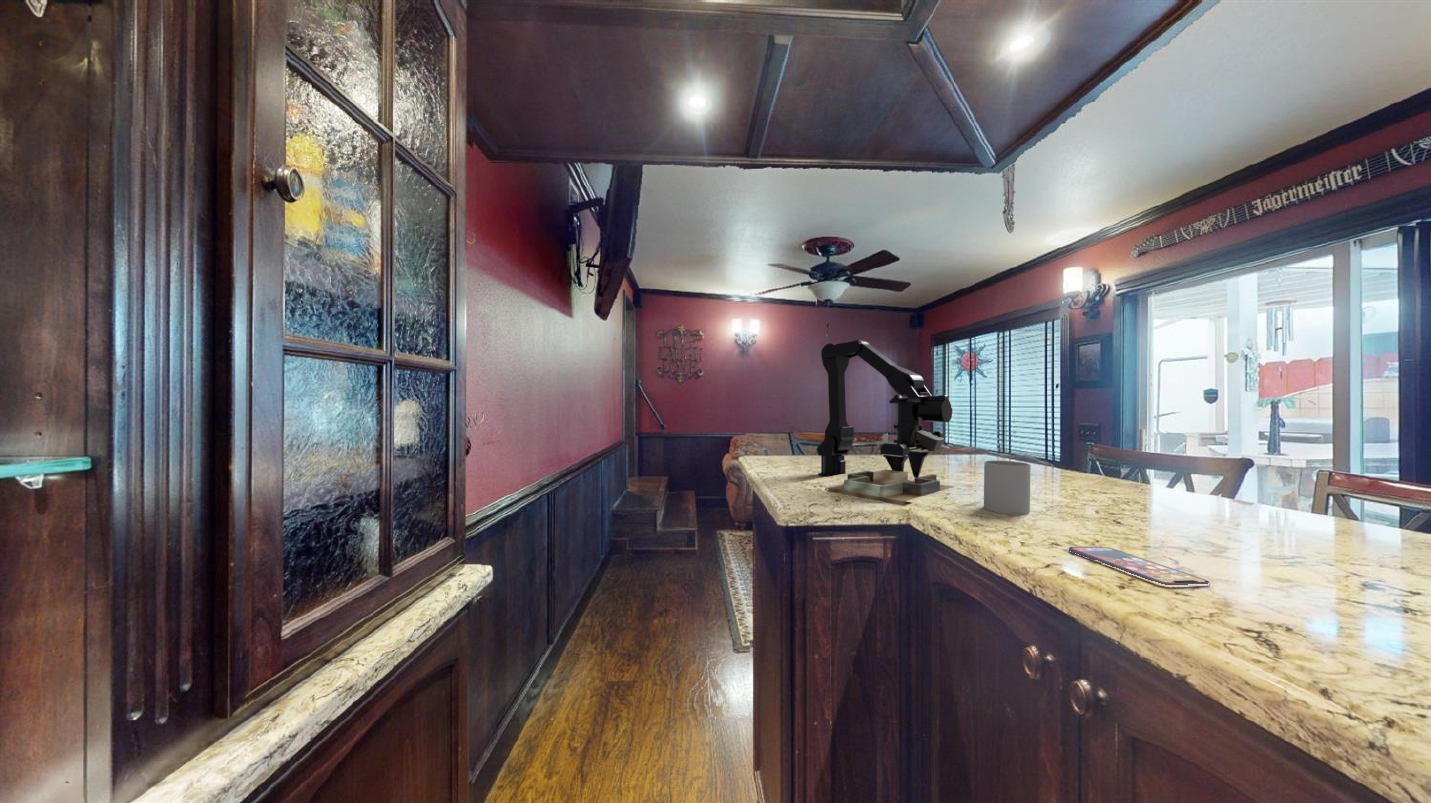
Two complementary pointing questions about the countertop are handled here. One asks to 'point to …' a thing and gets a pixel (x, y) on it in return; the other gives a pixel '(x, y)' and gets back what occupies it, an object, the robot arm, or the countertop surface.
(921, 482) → the trap lane
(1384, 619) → the countertop surface
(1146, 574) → the smartphone
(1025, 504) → the cup
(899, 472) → the maple block
